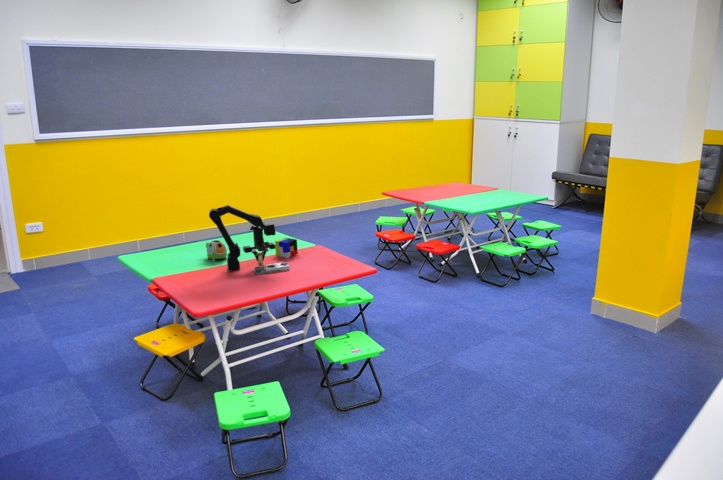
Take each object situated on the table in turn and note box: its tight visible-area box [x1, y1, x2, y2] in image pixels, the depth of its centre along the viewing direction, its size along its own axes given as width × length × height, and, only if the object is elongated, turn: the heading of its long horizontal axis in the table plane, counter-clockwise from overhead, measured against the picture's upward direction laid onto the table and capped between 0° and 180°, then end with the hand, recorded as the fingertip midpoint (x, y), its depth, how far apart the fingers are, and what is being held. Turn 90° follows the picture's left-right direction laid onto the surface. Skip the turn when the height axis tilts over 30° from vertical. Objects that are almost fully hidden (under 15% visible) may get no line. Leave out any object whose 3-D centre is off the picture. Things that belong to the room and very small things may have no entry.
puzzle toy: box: [274, 237, 298, 259], centre depth 372 cm, size 10×10×10 cm
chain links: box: [252, 261, 290, 276], centre depth 342 cm, size 20×9×3 cm, turn 114°
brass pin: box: [257, 251, 264, 267], centre depth 349 cm, size 3×3×8 cm
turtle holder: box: [205, 239, 228, 262], centre depth 369 cm, size 12×18×12 cm
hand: (260, 261), depth 349 cm, fingers closed on brass pin, 3 cm apart
